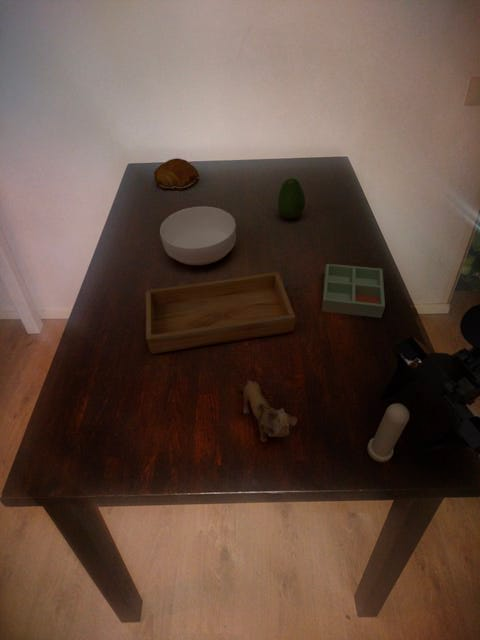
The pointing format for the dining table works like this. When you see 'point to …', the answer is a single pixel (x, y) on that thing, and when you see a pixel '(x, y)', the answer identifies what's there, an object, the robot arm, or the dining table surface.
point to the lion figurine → (266, 413)
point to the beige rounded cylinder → (388, 432)
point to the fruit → (291, 199)
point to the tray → (217, 312)
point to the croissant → (175, 174)
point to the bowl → (198, 235)
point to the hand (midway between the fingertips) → (397, 424)
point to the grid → (353, 290)
